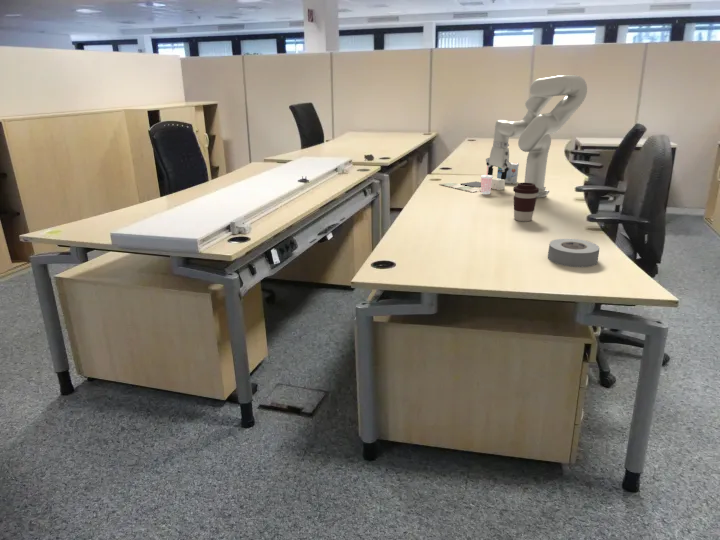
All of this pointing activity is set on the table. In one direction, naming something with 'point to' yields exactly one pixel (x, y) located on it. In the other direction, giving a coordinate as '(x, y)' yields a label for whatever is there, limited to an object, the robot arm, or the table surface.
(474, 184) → the mat
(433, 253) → the table surface
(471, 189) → the track
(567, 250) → the tape roll
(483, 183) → the beverage cup
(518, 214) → the coffee cup
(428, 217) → the table surface
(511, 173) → the light bulb box
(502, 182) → the die
